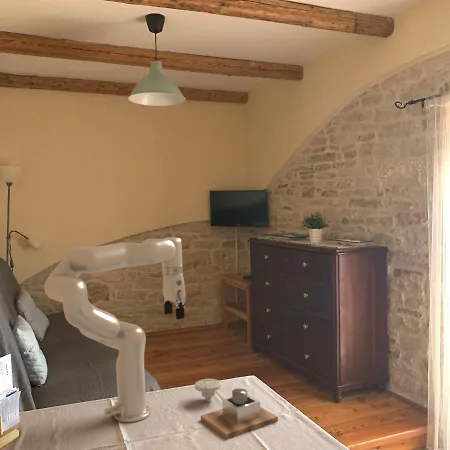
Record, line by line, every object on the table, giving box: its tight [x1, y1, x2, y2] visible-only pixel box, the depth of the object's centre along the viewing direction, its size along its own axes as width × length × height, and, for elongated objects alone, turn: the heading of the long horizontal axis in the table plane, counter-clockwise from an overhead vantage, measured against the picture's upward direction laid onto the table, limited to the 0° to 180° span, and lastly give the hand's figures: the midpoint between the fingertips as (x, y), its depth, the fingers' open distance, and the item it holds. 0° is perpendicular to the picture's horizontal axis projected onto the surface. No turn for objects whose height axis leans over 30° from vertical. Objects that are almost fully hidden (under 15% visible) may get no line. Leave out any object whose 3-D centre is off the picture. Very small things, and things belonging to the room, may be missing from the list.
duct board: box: [200, 394, 279, 440], centre depth 160 cm, size 20×16×6 cm
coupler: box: [231, 388, 248, 407], centre depth 161 cm, size 5×5×8 cm
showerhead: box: [194, 377, 222, 402], centre depth 177 cm, size 9×7×10 cm
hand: (174, 316), depth 181 cm, fingers open, 9 cm apart
